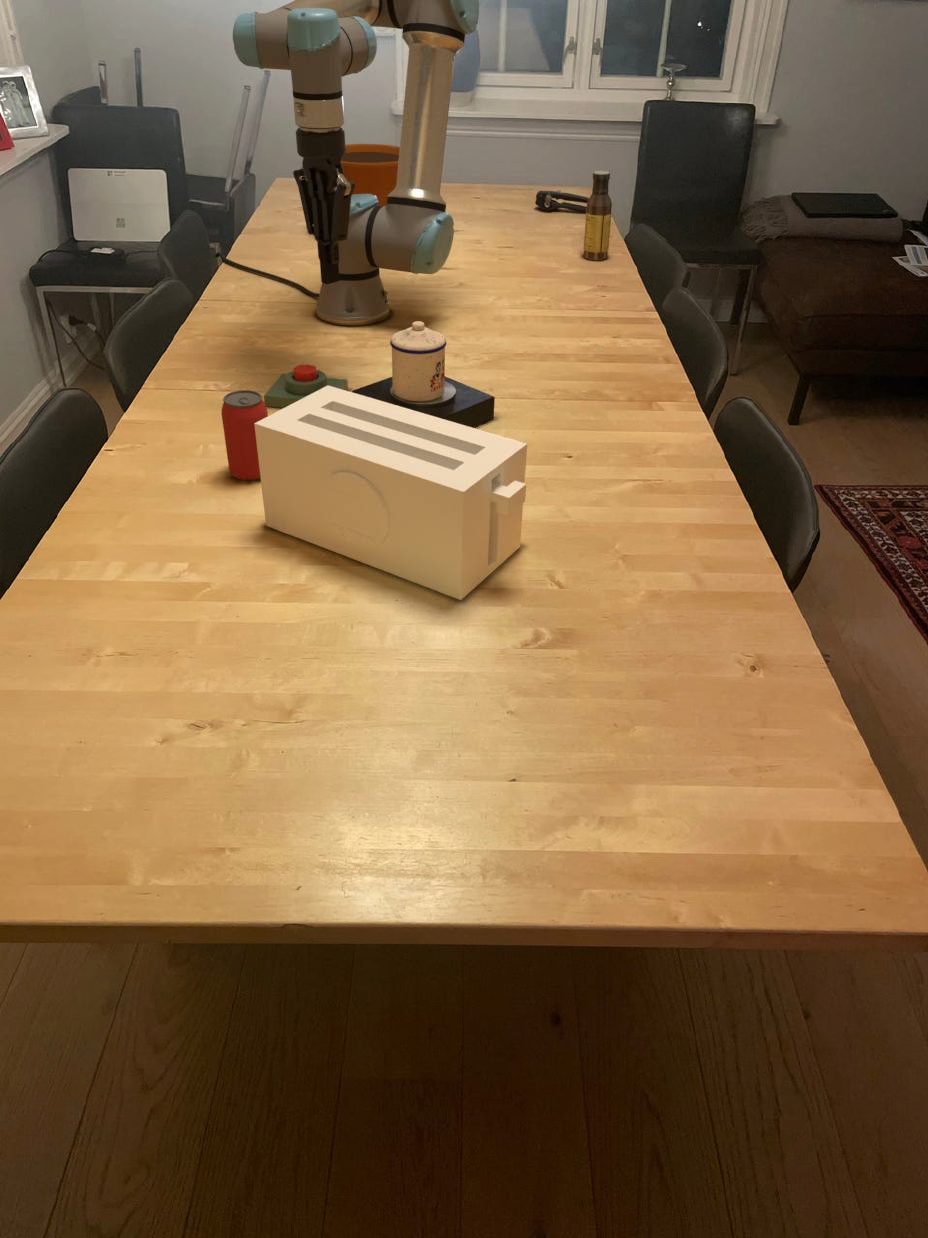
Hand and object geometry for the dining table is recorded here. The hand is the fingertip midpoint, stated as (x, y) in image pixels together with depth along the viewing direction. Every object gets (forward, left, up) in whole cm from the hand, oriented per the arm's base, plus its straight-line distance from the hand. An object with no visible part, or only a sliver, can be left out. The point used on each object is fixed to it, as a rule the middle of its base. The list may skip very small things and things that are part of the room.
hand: (330, 281), depth 162 cm
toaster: (+47, -28, -19) cm, 58 cm away
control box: (+1, -8, -18) cm, 20 cm away
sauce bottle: (-19, +98, -19) cm, 102 cm away
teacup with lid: (+19, +3, -14) cm, 24 cm away
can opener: (-53, +128, -19) cm, 140 cm away
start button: (+1, -8, -15) cm, 17 cm away
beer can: (+17, -31, -19) cm, 40 cm away
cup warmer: (+20, +2, -18) cm, 27 cm away
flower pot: (-70, +68, -19) cm, 100 cm away
